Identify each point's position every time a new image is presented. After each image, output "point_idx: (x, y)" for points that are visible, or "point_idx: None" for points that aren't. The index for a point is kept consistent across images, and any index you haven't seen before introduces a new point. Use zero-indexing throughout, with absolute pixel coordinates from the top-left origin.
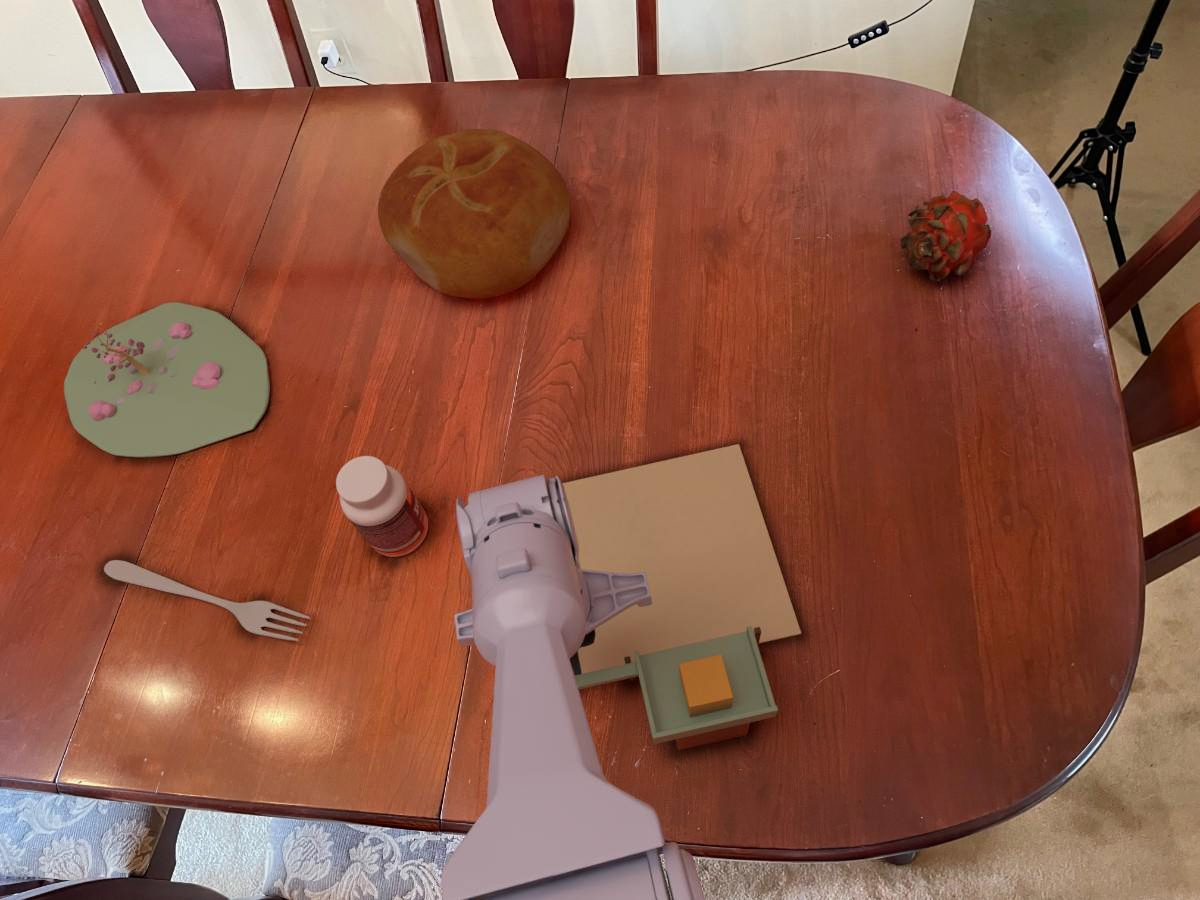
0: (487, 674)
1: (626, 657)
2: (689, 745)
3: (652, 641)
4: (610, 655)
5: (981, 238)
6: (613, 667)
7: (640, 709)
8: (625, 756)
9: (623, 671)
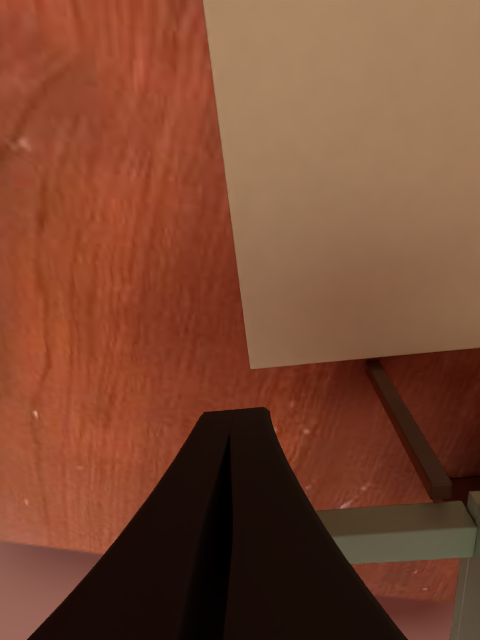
0: (19, 321)
1: (440, 486)
2: None
3: (450, 293)
4: (331, 315)
5: None
6: (395, 534)
7: (374, 425)
8: (325, 495)
9: (427, 550)
